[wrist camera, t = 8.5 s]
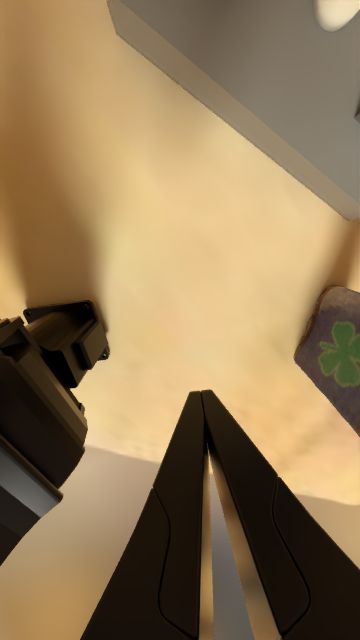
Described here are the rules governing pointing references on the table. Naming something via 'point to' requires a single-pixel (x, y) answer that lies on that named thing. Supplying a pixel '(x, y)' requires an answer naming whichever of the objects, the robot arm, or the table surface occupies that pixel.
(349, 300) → the flask
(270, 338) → the table surface
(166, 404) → the table surface
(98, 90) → the table surface
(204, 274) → the table surface
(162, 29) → the switch panel
